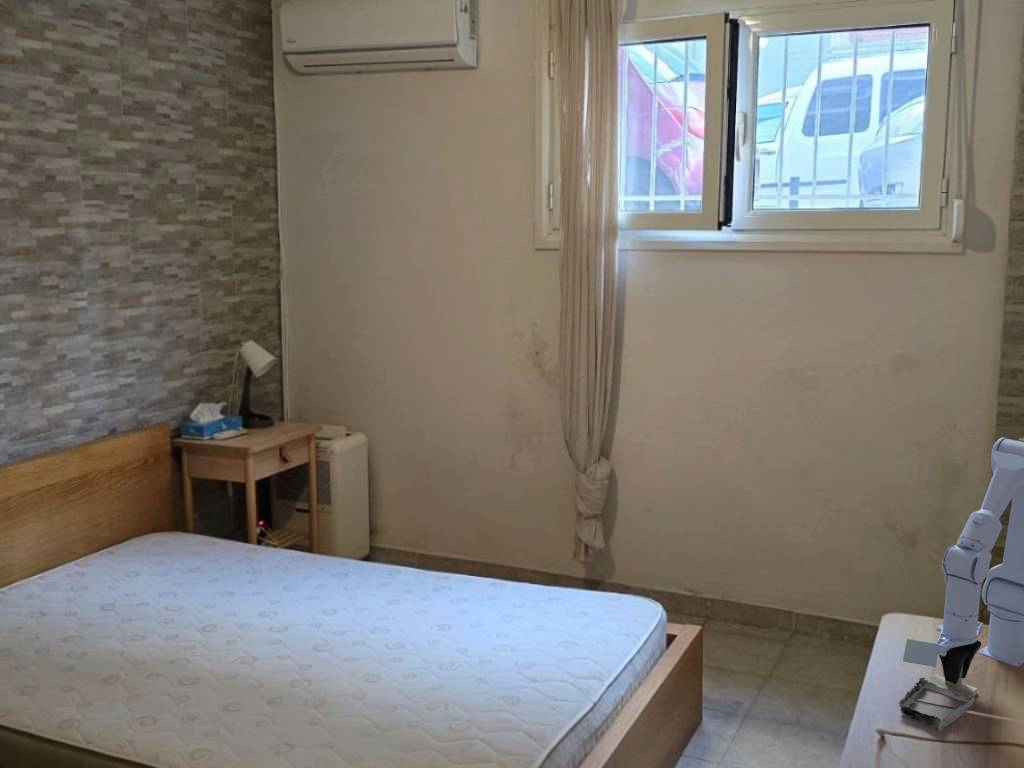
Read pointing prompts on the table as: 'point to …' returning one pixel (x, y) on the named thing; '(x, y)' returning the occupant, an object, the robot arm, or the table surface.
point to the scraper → (953, 685)
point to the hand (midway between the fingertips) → (955, 678)
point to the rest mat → (920, 653)
